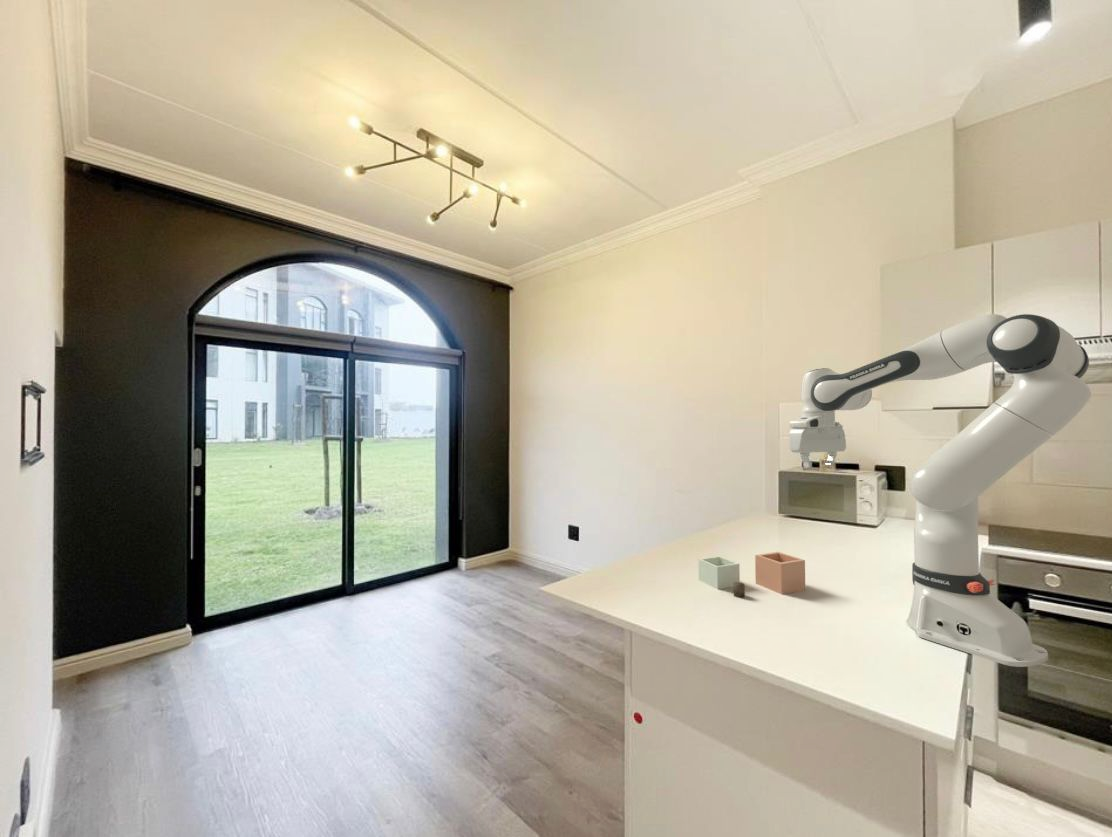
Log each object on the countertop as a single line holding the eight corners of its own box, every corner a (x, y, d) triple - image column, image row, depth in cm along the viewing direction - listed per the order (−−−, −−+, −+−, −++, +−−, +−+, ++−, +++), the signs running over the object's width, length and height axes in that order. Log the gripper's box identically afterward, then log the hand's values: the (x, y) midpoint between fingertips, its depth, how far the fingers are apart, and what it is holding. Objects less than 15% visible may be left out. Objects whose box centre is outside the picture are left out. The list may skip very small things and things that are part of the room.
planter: (805, 592, 123) (804, 560, 124) (781, 597, 120) (781, 563, 120) (778, 581, 132) (778, 551, 132) (755, 586, 128) (755, 555, 129)
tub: (739, 588, 127) (739, 563, 127) (717, 591, 124) (717, 567, 124) (720, 579, 134) (719, 556, 135) (698, 582, 132) (698, 559, 132)
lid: (763, 604, 117) (763, 587, 117) (738, 609, 114) (738, 591, 114) (739, 592, 125) (739, 577, 125) (715, 597, 122) (715, 580, 122)
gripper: (832, 422, 142) (832, 464, 142) (785, 422, 135) (785, 467, 135) (851, 421, 136) (852, 466, 136) (803, 421, 129) (804, 469, 129)
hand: (818, 466), depth 135 cm, fingers open, 8 cm apart
